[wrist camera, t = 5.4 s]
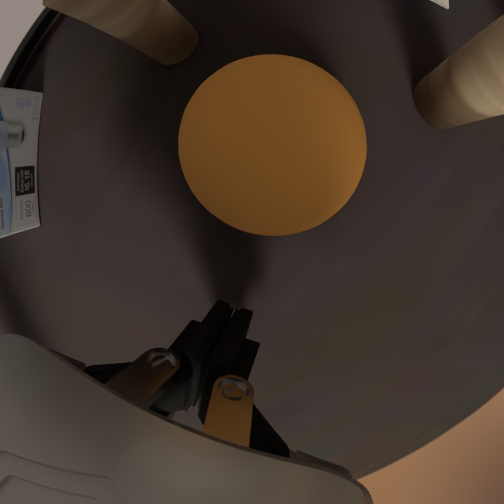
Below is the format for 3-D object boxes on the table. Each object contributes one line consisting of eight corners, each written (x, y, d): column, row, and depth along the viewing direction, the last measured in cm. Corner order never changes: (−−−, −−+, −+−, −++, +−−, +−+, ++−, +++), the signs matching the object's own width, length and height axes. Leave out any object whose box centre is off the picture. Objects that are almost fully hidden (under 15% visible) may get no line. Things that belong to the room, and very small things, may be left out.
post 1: (190, 65, 11) (78, -8, 3) (148, 65, 11) (32, 15, 4) (204, 24, 10) (116, -64, 2) (162, 26, 10) (64, -38, 3)
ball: (398, 50, 5) (354, 140, 11) (204, 13, 6) (232, 108, 12) (374, 248, 5) (322, 266, 11) (106, 170, 6) (185, 222, 11)
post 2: (455, 138, 9) (579, 121, 2) (409, 115, 9) (521, 57, 2) (460, 92, 8) (566, 47, 1) (416, 69, 9) (504, -13, 1)
